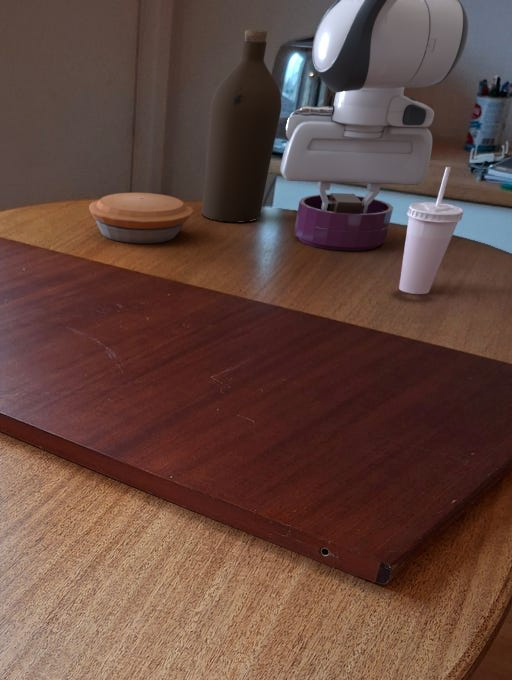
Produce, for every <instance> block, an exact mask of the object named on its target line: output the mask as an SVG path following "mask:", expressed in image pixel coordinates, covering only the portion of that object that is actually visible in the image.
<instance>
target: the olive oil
mask: <svg viewBox="0 0 512 680" xmlns="http://www.w3.org/2000/svg"><path fill="white" fill-rule="evenodd" d="M267 36H268V30H266V29H245V32H244V40H243V41H242V47H241V57H240V61H239V62H238V63H237V64H236V65H235V67H234V68H233V69H232V70H231V71H230V72H229V73H228V74H227V75H226V76H225V77H224V79H223V80H222V81H221V82H220V83H219V85H218V86H217V88H216V89H215V91H214V93H213V96H212V99H211V103H210V107H209V118H208V119H209V120H208V133H207V134H208V135H207V146H206V161H205V162H206V163H205V173H204V183H203V195H202V205H201V215H202V214H203V215H205V216H206V217H209V218H212V219H215V220H214V221H215V222H217V221H216V220H221V221H220V222H222V223H224V222H223V221H231V222H230V223H231V224H232V223H234V224H238V223H240V224H241V223H243V222H238V221H250V220H253V219H257V218H258V217H259V216H260V217H261V213H262V208H263V207H262V206H263V201H264V196H265V192H266V191H265V190H266V185H267V180H268V175H269V171H270V166H271V165H270V164H271V161H272V156H273V151H274V147H275V146H274V145H275V141H276V136H277V131H278V127H279V123H280V119H281V112H282V95H281V90H280V87H279V85H278V83H277V82H276V80H275V79H274V77H273V75H272V73H271V72H270V70H269V69H268V67H267V64H266V63H265V54H266V48H267ZM203 215H202V216H203ZM206 217H204V219H205V218H206ZM260 217H259V218H260ZM259 218H258V219H259ZM206 219H207V218H206ZM212 219H210V220H211V221H213V220H212ZM258 219H257V220H258ZM255 221H256V220H254V221H253V222H255ZM250 222H252V221H250ZM250 222H249V223H250Z"/></svg>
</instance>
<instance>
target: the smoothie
mask: <svg viewBox="0 0 512 680" xmlns="http://www.w3.org/2000/svg"><path fill="white" fill-rule="evenodd" d="M451 170H452V167H451V166H445V170H444V173H443V177H442V179H441V180H442V181H441V185H440V188H439V191H438V194H437V199H436V202H430V201H429V202H428V201H424V202H422V201H421V202H413V203H411V204H410V205H408V206H409V207H408V209H407V212H406V216H408V222H407V228H406V236H405V243H404V250H403V258H402V264H401V271H400V278H399V286H398V289H399V290H400V291H401V292H403V293H407V294H413V295H426V294H429V293H430V291H431V288H432V286H433V283H434V281H435V278H436V276H437V273H438V272H439V269H440V267H441V264H442V261H443V259H444V257H445V254H446V252H447V250H448V247H449V245H450V242H451V240H452V237H453V235H454V233H455V230H456V229H457V225H458V223H459V222H460V221H462V220H463V215H464V209H462V208H461V207H459V206H457V205H454V204H448V203H443V198H444V195H445V190H446V186H447V184H448V180H449V176H450V172H451Z"/></svg>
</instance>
